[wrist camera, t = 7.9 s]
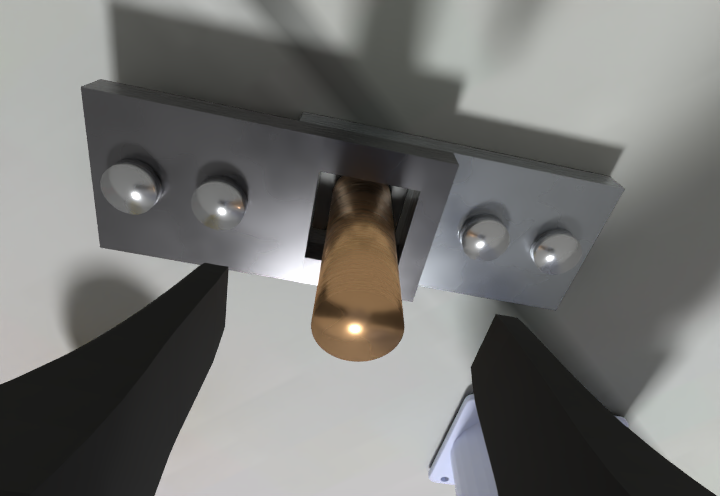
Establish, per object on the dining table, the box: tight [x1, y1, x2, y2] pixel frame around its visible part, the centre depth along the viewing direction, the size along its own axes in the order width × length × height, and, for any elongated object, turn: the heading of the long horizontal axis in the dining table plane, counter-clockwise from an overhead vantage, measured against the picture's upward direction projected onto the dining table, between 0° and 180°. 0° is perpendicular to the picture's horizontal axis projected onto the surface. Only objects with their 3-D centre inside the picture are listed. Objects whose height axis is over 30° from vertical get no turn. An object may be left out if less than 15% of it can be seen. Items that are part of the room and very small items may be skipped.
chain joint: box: [81, 79, 625, 310], centre depth 17 cm, size 19×6×3 cm, turn 78°
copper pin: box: [311, 176, 404, 362], centre depth 15 cm, size 2×2×8 cm
